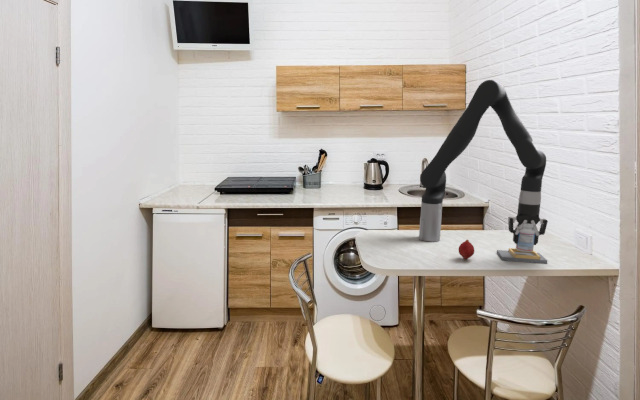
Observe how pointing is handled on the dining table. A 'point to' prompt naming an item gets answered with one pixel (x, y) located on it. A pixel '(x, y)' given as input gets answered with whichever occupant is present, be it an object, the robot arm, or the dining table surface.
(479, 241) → the dining table surface
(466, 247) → the onion
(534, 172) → the robot arm
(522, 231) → the pill bottle
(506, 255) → the plate
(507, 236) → the dining table surface
